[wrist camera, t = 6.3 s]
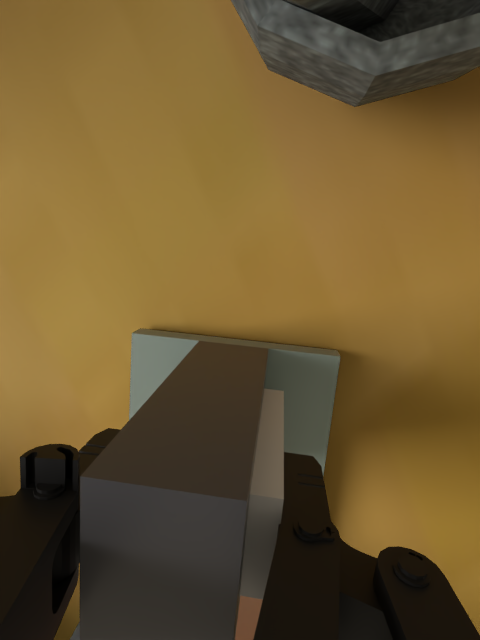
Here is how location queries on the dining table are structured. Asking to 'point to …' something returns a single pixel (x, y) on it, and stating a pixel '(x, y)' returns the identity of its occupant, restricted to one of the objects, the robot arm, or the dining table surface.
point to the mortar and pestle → (365, 43)
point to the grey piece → (189, 481)
